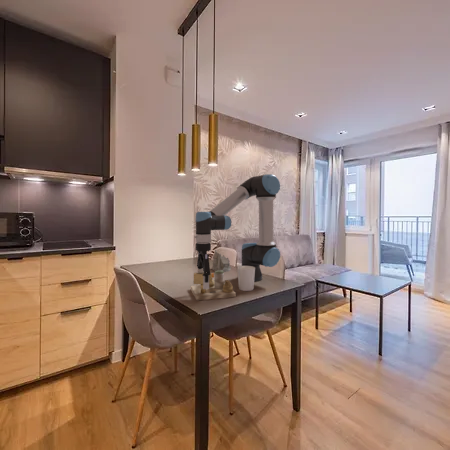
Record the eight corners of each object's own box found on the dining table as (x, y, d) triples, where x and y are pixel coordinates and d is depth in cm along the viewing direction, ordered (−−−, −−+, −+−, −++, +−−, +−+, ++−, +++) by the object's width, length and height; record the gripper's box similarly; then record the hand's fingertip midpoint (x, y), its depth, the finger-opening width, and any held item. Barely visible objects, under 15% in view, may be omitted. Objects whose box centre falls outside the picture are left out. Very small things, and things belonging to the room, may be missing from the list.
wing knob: (194, 291, 129) (194, 272, 128) (214, 291, 128) (214, 272, 128) (193, 293, 126) (193, 274, 125) (213, 293, 125) (213, 274, 125)
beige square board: (225, 286, 145) (225, 267, 145) (235, 296, 128) (236, 274, 128) (190, 289, 139) (190, 269, 139) (196, 300, 122) (196, 277, 122)
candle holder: (248, 292, 135) (248, 270, 134) (233, 289, 141) (233, 267, 140) (258, 288, 142) (258, 267, 141) (244, 285, 148) (244, 264, 148)
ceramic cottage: (218, 272, 179) (219, 251, 179) (208, 268, 193) (209, 249, 193) (237, 271, 186) (238, 251, 187) (226, 268, 201) (227, 249, 201)
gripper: (191, 240, 137) (191, 279, 138) (200, 246, 113) (200, 293, 114) (205, 239, 139) (205, 278, 140) (217, 245, 115) (216, 291, 116)
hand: (203, 284), depth 127 cm, fingers open, 13 cm apart
